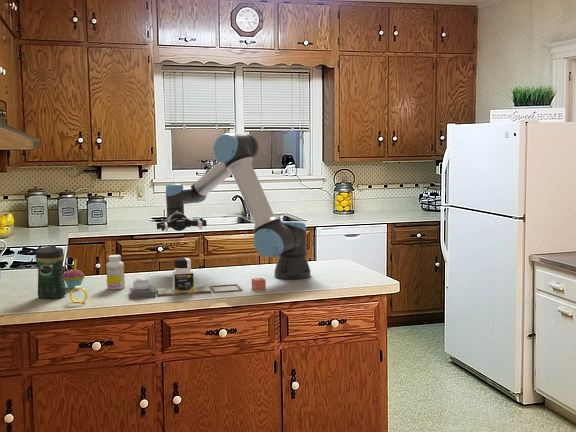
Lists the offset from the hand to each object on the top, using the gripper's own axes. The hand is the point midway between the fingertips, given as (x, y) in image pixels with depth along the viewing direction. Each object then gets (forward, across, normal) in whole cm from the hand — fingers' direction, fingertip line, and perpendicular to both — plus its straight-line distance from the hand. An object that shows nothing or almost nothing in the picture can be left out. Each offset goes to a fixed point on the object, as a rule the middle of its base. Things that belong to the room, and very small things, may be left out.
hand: (184, 226), depth 264 cm
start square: (+14, +13, +24) cm, 31 cm away
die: (+18, +25, +24) cm, 39 cm away
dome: (+15, -18, +20) cm, 31 cm away
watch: (+20, -41, +23) cm, 51 cm away
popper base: (+15, -18, +23) cm, 33 cm away
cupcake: (-6, -44, +22) cm, 49 cm away
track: (+14, -3, +23) cm, 27 cm away
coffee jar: (+7, -51, +22) cm, 56 cm away
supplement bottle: (0, -28, +23) cm, 36 cm away
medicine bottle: (+14, -3, +23) cm, 27 cm away
